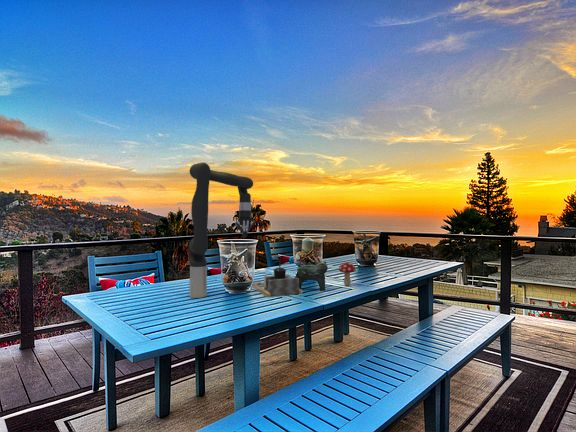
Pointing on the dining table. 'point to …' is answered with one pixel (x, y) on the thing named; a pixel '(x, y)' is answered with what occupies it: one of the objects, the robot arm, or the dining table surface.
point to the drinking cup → (279, 272)
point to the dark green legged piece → (312, 273)
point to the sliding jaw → (271, 279)
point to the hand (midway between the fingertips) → (244, 237)
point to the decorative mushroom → (347, 272)
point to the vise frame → (279, 287)
